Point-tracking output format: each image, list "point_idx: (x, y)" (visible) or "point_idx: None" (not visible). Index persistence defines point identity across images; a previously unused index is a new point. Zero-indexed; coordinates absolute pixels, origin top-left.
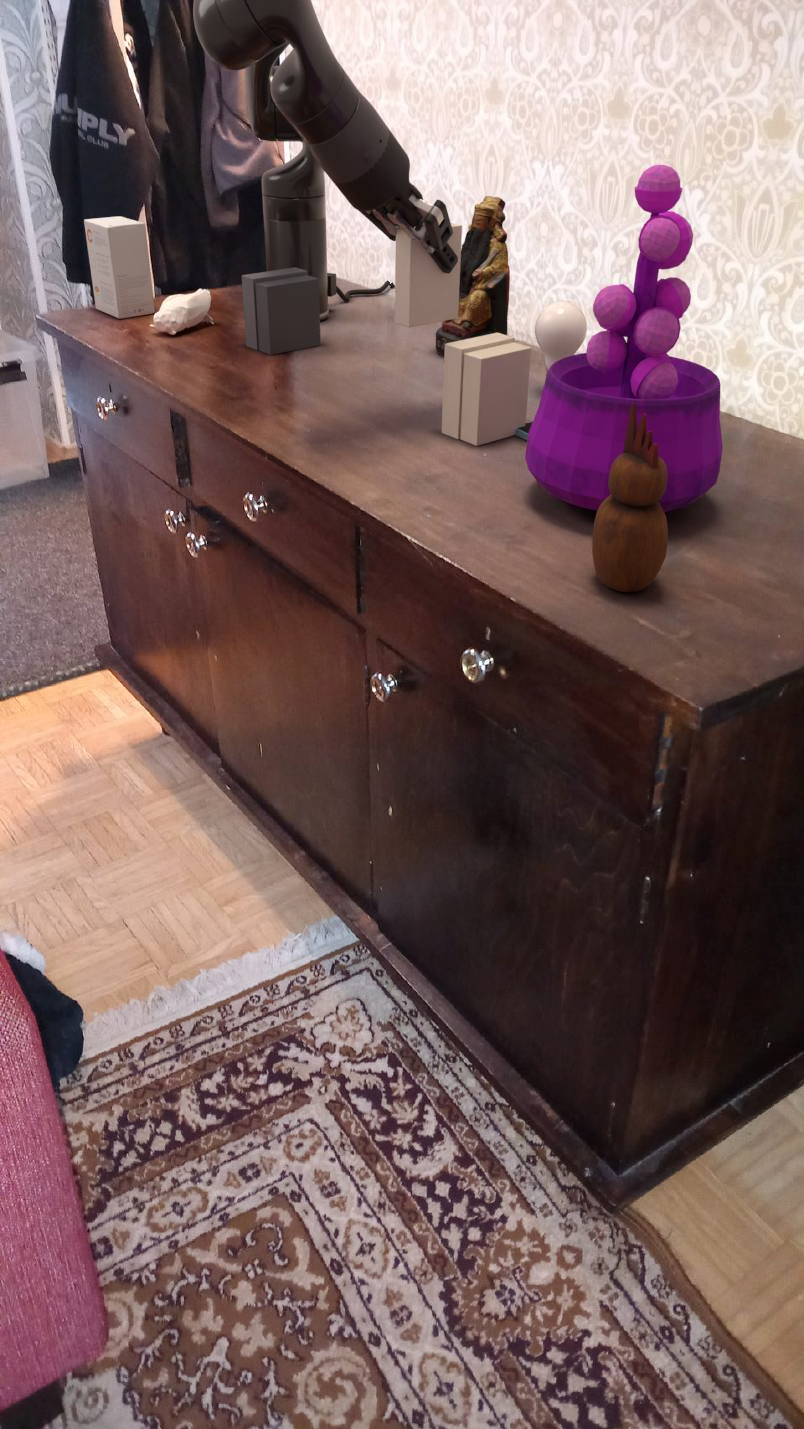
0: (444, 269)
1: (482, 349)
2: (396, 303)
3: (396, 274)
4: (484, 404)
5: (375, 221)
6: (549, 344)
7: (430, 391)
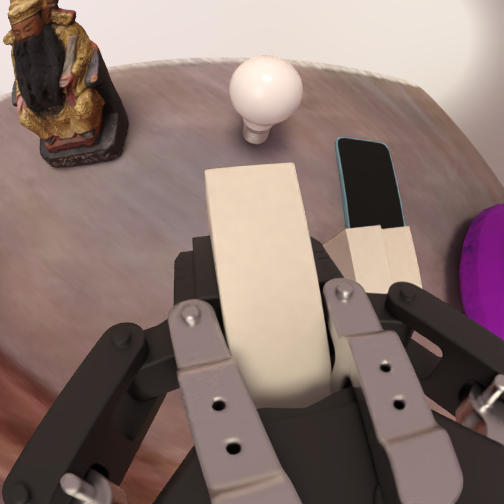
0: None
1: None
2: None
3: None
4: None
5: (126, 465)
6: (279, 122)
7: (168, 262)
